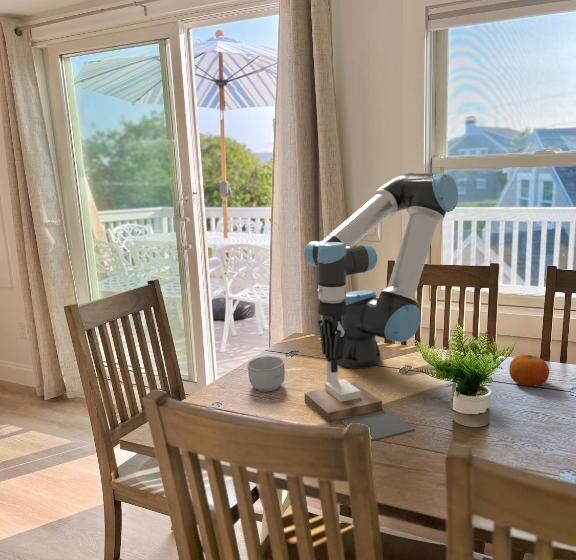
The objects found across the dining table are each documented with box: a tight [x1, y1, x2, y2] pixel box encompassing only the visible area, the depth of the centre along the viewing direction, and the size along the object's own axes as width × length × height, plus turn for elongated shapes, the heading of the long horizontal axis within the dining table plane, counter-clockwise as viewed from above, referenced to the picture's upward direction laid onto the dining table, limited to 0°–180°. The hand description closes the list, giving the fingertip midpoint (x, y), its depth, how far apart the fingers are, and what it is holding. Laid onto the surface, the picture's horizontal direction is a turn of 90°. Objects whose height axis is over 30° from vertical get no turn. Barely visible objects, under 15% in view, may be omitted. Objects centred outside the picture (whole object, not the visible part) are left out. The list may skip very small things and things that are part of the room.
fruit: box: [508, 354, 550, 387], centre depth 160 cm, size 11×10×8 cm
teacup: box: [246, 354, 286, 393], centre depth 164 cm, size 14×11×8 cm
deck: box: [303, 382, 383, 423], centre depth 150 cm, size 16×14×2 cm
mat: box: [339, 409, 416, 442], centre depth 138 cm, size 14×12×1 cm
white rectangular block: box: [324, 378, 361, 402], centre depth 151 cm, size 6×9×2 cm, turn 23°
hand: (332, 381), depth 156 cm, fingers closed
